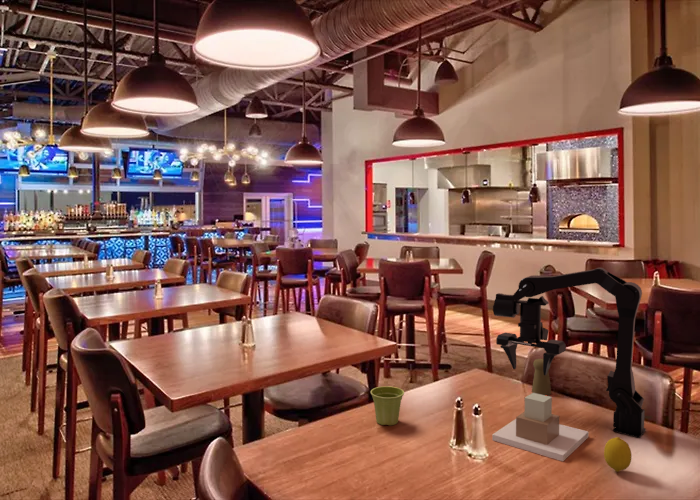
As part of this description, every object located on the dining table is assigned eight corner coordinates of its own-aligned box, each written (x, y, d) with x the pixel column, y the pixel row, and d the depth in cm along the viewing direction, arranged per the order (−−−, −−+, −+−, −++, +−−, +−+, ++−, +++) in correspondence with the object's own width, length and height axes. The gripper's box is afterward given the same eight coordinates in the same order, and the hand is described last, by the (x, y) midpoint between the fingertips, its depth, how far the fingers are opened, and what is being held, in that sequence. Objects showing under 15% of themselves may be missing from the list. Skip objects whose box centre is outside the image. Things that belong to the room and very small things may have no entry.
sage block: (551, 416, 136) (551, 396, 135) (543, 421, 132) (544, 402, 132) (532, 411, 139) (532, 392, 139) (524, 416, 135) (524, 397, 135)
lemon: (628, 467, 121) (629, 433, 121) (632, 479, 116) (633, 443, 116) (602, 464, 123) (602, 430, 123) (605, 475, 118) (606, 440, 117)
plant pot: (411, 422, 149) (411, 392, 148) (385, 431, 143) (385, 399, 142) (389, 413, 156) (388, 384, 155) (364, 420, 150) (363, 390, 150)
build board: (588, 437, 138) (588, 412, 138) (562, 461, 125) (563, 434, 124) (522, 419, 150) (522, 397, 150) (492, 440, 137) (492, 415, 136)
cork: (554, 395, 170) (554, 362, 169) (535, 395, 170) (535, 362, 169) (547, 389, 176) (548, 356, 175) (529, 389, 176) (529, 357, 175)
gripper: (573, 319, 154) (572, 371, 155) (512, 311, 166) (511, 360, 167) (558, 325, 146) (557, 380, 147) (495, 316, 158) (495, 368, 159)
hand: (529, 371), depth 155 cm, fingers open, 9 cm apart
